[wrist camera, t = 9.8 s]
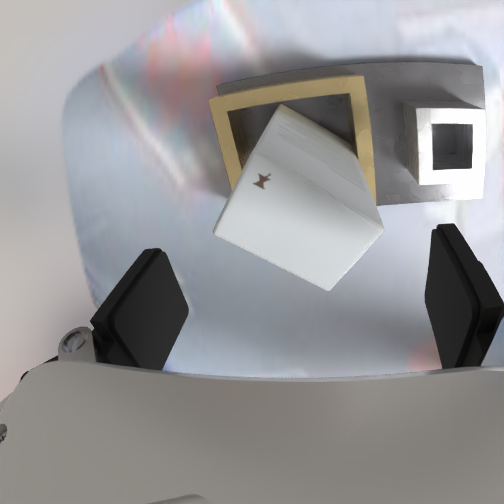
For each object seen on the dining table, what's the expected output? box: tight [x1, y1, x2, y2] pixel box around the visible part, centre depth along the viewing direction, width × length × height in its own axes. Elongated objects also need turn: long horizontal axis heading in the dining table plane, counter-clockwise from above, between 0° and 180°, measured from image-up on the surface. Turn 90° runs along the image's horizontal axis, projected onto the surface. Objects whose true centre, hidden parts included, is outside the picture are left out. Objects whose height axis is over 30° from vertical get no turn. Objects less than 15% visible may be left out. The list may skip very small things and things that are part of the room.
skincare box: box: [213, 104, 384, 292], centre depth 17 cm, size 6×4×12 cm
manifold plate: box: [208, 62, 486, 206], centre depth 20 cm, size 20×11×4 cm, turn 103°
